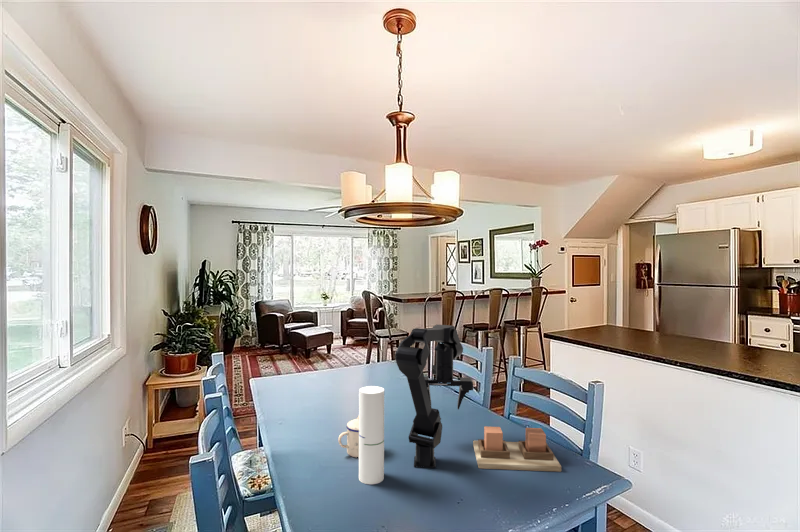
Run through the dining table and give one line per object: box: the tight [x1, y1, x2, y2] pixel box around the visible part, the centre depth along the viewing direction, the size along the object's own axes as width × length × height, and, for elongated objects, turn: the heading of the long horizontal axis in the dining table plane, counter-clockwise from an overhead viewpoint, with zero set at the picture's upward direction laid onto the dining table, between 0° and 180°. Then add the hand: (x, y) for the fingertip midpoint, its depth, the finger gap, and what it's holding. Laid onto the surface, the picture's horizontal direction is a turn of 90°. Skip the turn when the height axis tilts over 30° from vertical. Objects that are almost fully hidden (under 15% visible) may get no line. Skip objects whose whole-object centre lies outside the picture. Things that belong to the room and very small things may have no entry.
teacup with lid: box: [337, 415, 359, 459], centre depth 133 cm, size 12×9×12 cm
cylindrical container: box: [358, 385, 385, 485], centre depth 118 cm, size 7×7×25 cm
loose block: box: [483, 426, 504, 451], centre depth 131 cm, size 5×5×7 cm
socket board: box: [472, 427, 562, 473], centre depth 131 cm, size 16×24×8 cm, turn 86°
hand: (444, 408), depth 140 cm, fingers open, 9 cm apart
